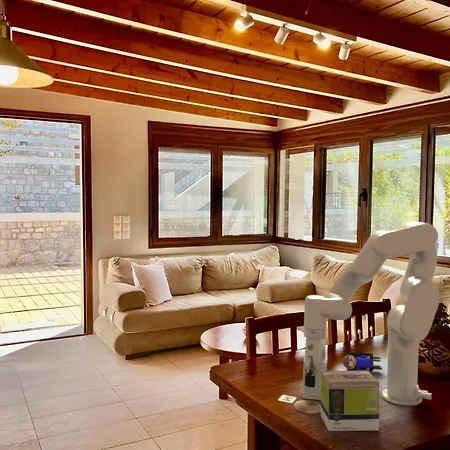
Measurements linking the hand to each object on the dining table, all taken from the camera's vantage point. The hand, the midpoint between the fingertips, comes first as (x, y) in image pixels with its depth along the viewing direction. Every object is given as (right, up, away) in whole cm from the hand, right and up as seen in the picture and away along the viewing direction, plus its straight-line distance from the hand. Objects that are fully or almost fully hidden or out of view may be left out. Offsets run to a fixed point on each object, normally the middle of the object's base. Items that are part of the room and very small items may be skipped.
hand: (313, 381), depth 163 cm
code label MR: (-9, -5, -3) cm, 11 cm away
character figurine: (+23, -4, +25) cm, 34 cm away
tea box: (+7, -6, -20) cm, 22 cm away
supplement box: (0, -5, 0) cm, 5 cm away
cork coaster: (-4, -5, -9) cm, 11 cm away
